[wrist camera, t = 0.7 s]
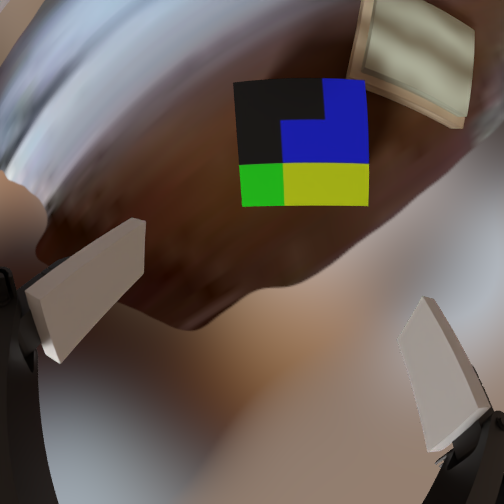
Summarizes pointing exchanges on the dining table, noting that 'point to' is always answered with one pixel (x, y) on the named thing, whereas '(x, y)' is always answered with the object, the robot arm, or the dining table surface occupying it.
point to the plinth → (415, 57)
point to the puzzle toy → (302, 141)
